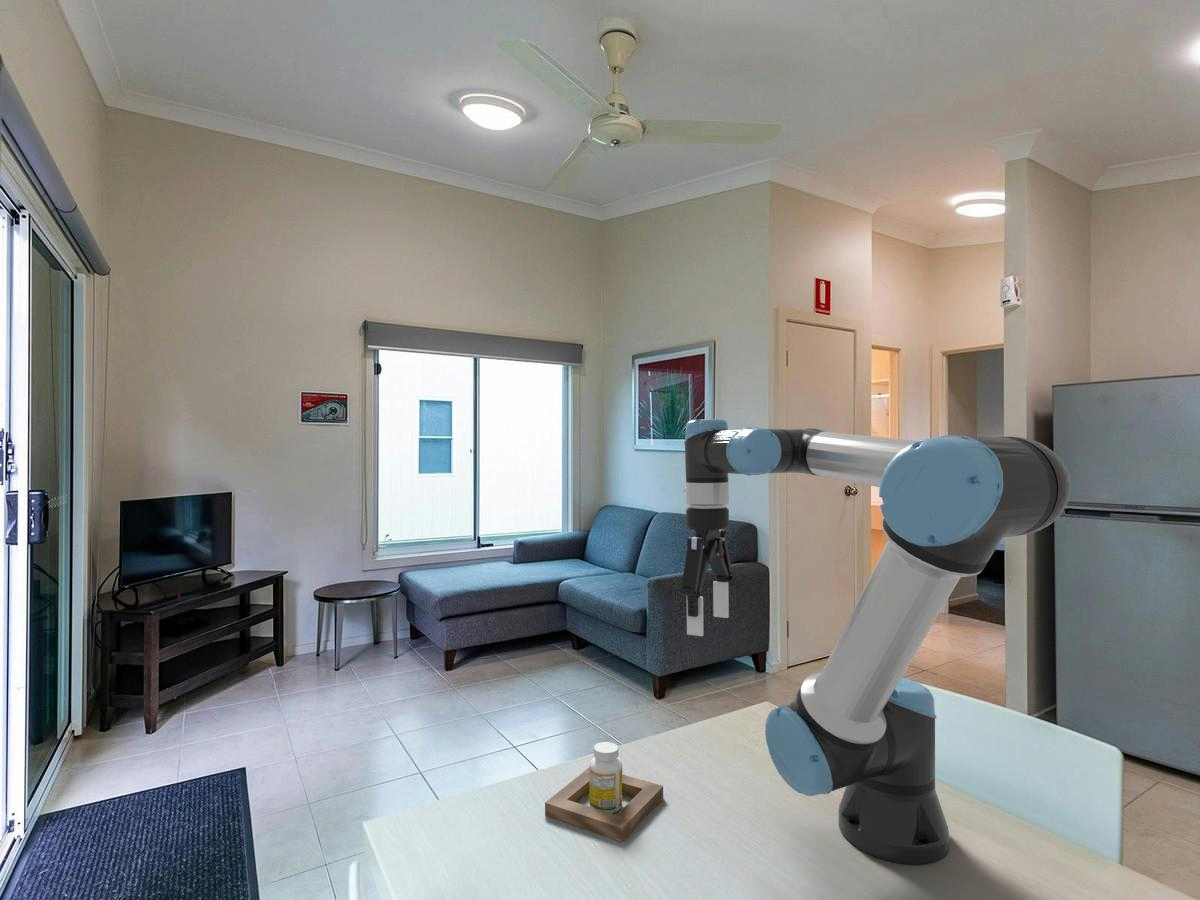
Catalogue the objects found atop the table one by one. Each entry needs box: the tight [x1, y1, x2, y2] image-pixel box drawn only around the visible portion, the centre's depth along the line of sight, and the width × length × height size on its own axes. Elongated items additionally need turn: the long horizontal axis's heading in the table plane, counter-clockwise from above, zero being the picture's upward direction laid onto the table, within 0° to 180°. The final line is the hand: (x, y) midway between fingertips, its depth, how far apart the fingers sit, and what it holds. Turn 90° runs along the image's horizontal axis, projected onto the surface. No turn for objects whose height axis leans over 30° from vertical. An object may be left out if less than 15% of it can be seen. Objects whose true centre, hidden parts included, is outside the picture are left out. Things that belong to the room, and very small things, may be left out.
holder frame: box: [544, 766, 664, 842], centre depth 107 cm, size 14×14×2 cm
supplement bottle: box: [589, 741, 623, 814], centre depth 107 cm, size 5×5×10 cm
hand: (708, 625), depth 118 cm, fingers open, 13 cm apart
